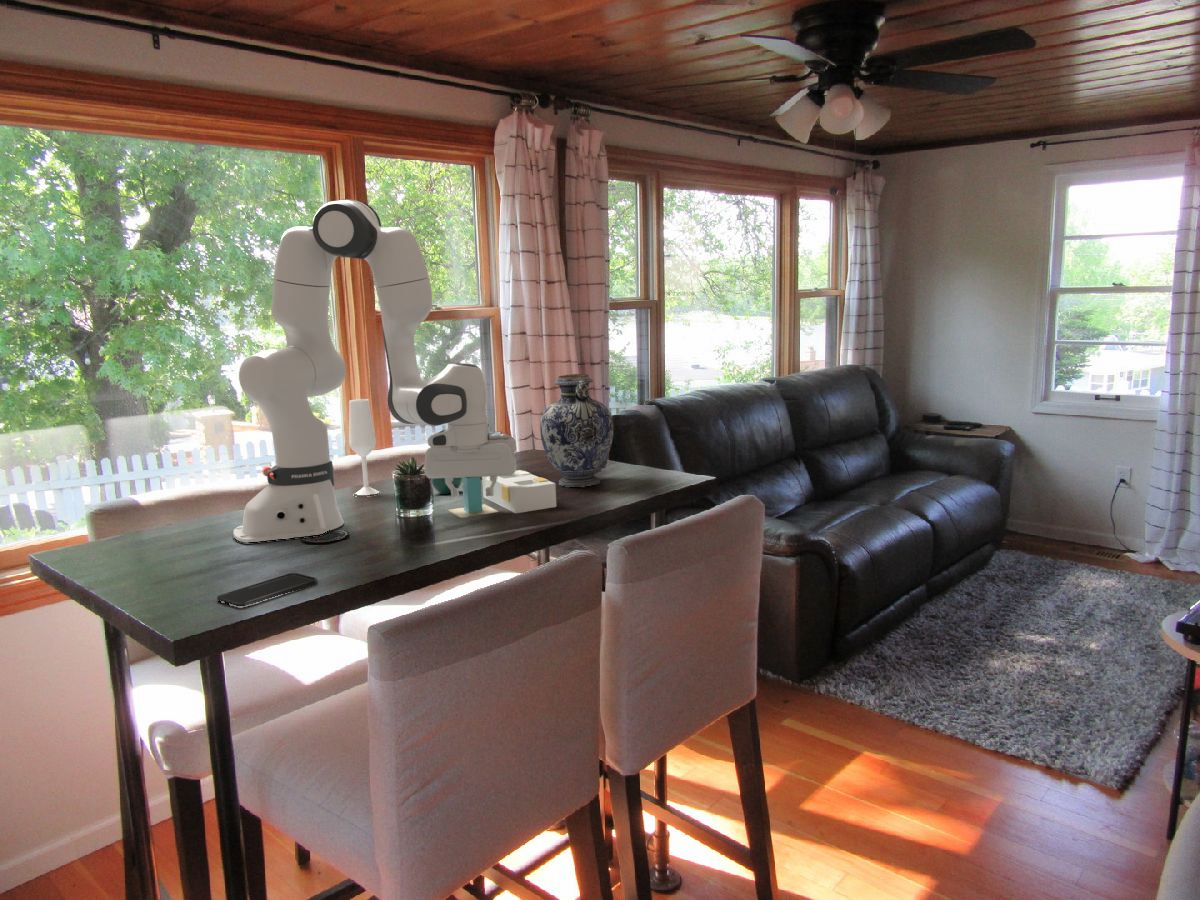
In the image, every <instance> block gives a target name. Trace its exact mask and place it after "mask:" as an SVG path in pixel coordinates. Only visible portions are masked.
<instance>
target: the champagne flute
mask: <svg viewBox="0 0 1200 900" xmlns="http://www.w3.org/2000/svg"><path fill="white" fill-rule="evenodd" d="M348 402H349V403H348V404H349V407H348V409H349V410H348V416H349V417H348V446H349V447H350V449H351V450H352V451H353V452H354V453H355V454H356V455H358V456H360V457H361V466H362V468H361V469H362V480H363V486H362V487H361V489H359V490H358V491H357V492H355V493H354V494H357V495H370V494H377V493H379V492H380V491H379V490H378V489H377V490H376V489H375V488H372V487H371V486H369V476H368V475H369V474H368V465H367V464H368V463H367V456H369V455H370V453H372V451H373V450H374V449H375V447H376V446H377V438H376V433H375V428H374V423H373V417H372V411H371V406H370V400H369V399H368V398H359V399H351V400H349V401H348Z"/></svg>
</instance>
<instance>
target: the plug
mask: <svg viewBox="0 0 1200 900" xmlns="http://www.w3.org/2000/svg"><path fill="white" fill-rule="evenodd" d="M481 483H482V478H480V477H462V484H461V485H462V499H463V500H462V501H463V507H464V511H466V512H468V513H473V512H480V511H482V505H483V499H482V496H483V494H482V484H481Z"/></svg>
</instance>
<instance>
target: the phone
mask: <svg viewBox="0 0 1200 900" xmlns="http://www.w3.org/2000/svg"><path fill="white" fill-rule="evenodd" d="M317 583H318V584H319V581H318V578H317V577H313V576H309V575H306V574H301V573H297V572H291V573H286V574H283V575H281V576H276V577H273V578H270V579H268V580H264V581H261V582H258V583H253V584H251V585H247V586H245V587H242V588H238V589H236V590H235V589H234V590H231V591H228V592H226V593H222V594H219V595H217V596H216V600H217V599H218V600H221V601H224V602H226V604H228V603H230V604H233V605H236V606H246V605H249V604H253V603H256V602H260V601H263V600H265V599H269V598H272V597H275V596H278V595H281V594H285V593H288V592H292V591H296V590H299V589H302V590H304V589H303V588H305V589H308V588H310V587H309V586H311V587H313V586H312V585H314V586H316V585H318V584H317ZM315 584H316V585H315ZM307 587H308V588H307ZM299 591H300V590H299ZM296 592H297V591H296Z"/></svg>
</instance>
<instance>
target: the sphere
mask: <svg viewBox="0 0 1200 900" xmlns="http://www.w3.org/2000/svg"><path fill="white" fill-rule="evenodd" d="M452 484H453V485H454V487H455V488H459V489H460V487H461V485H462V477H460V478H453V481H452ZM431 487H432V488H433V489H434V490H435V491H436V492H438V493H440V494H442V495H451V490H450V489H449V487H448V486H447V485H446V483H445V478H432V485H431Z"/></svg>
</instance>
